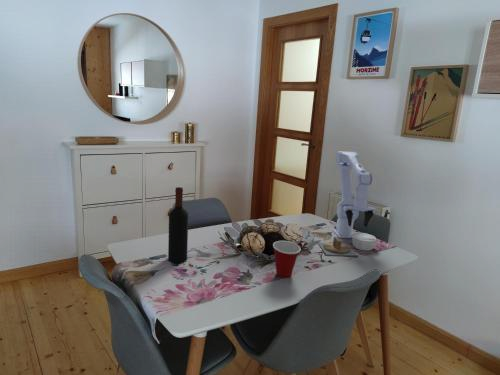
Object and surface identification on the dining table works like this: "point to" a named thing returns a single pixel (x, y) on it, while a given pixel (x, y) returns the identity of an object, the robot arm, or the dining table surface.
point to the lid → (336, 246)
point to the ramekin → (363, 241)
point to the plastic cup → (285, 257)
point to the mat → (336, 253)
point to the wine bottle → (178, 230)
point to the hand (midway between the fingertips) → (357, 225)
